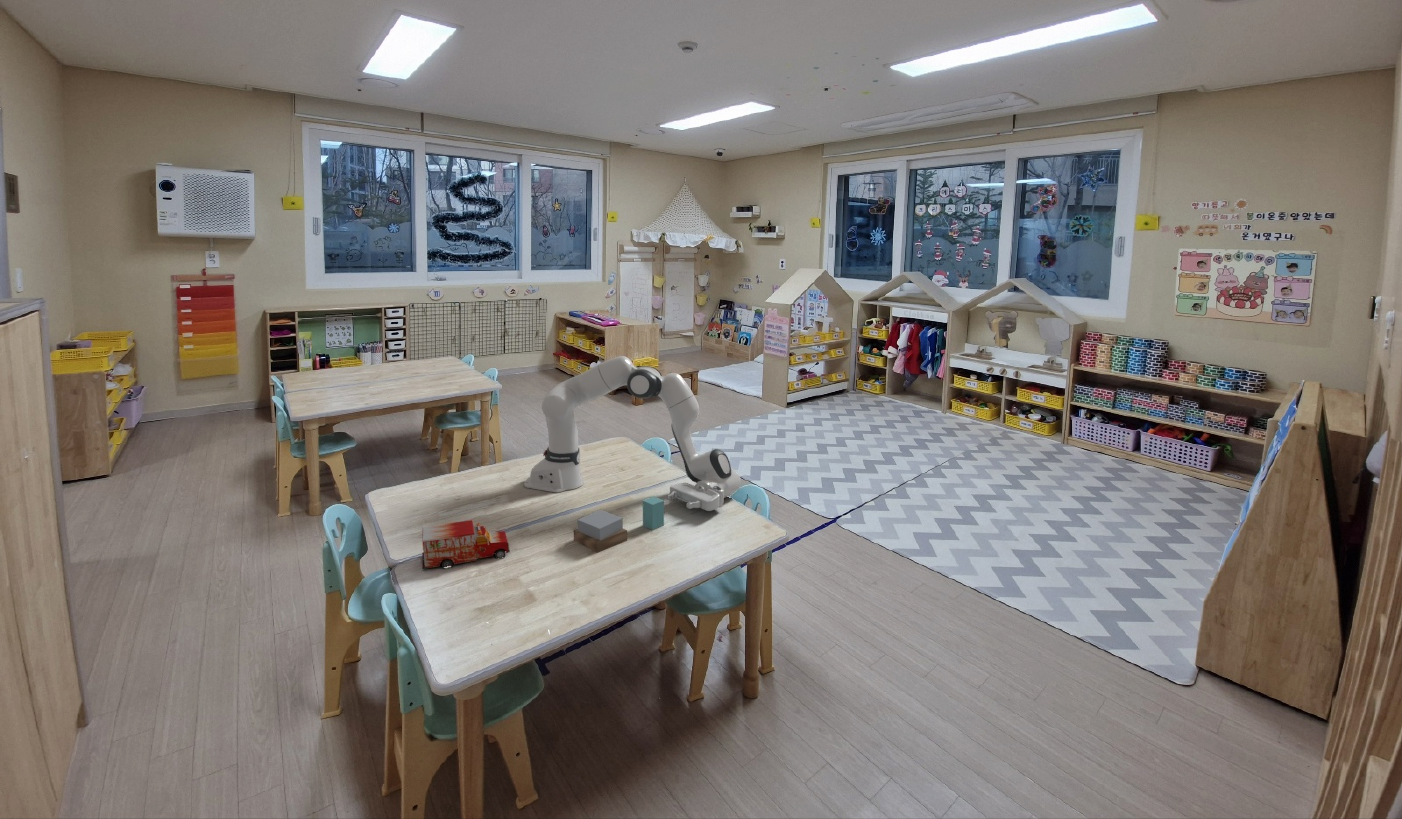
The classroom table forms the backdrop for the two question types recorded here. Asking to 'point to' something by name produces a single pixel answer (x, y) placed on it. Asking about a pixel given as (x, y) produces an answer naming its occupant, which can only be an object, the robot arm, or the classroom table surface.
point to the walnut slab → (600, 544)
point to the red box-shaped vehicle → (460, 544)
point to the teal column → (653, 513)
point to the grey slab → (600, 524)
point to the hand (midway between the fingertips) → (678, 502)
